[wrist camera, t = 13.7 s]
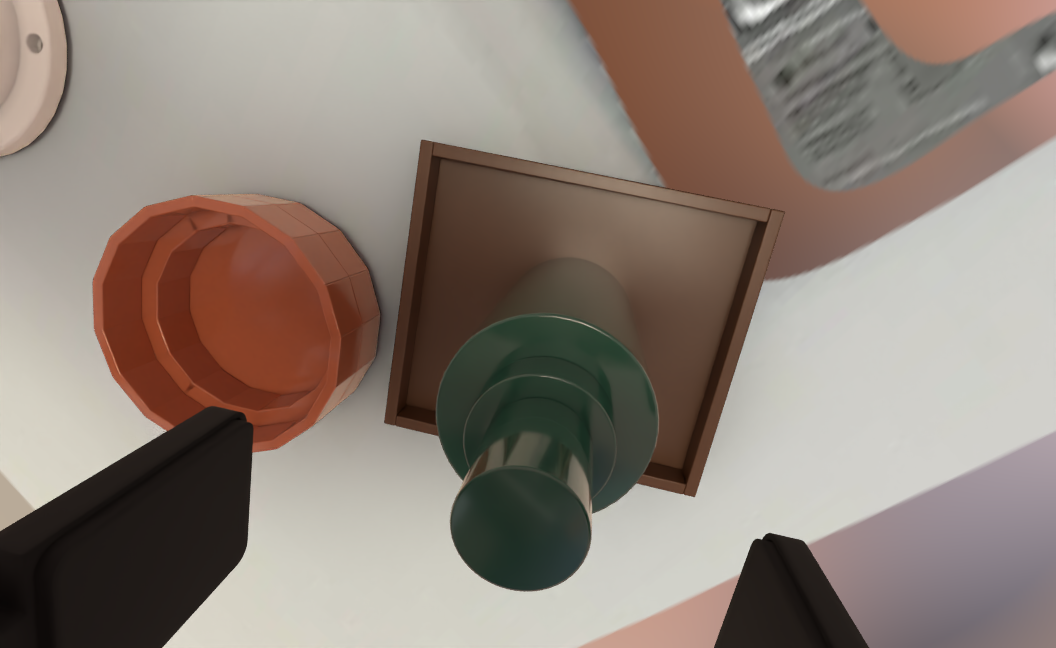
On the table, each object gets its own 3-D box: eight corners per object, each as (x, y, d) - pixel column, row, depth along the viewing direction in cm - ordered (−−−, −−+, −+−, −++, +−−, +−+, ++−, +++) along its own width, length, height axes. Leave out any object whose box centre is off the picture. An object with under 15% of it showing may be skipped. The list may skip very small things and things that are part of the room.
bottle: (494, 366, 28) (346, 621, 12) (516, 244, 26) (380, 342, 10) (615, 393, 27) (641, 700, 11) (646, 272, 26) (731, 422, 9)
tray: (397, 408, 30) (383, 423, 28) (433, 142, 26) (420, 139, 24) (688, 476, 29) (695, 498, 27) (771, 209, 25) (785, 211, 23)
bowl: (173, 385, 31) (96, 421, 26) (176, 175, 28) (88, 173, 23) (369, 432, 30) (326, 479, 26) (395, 221, 27) (352, 229, 22)
